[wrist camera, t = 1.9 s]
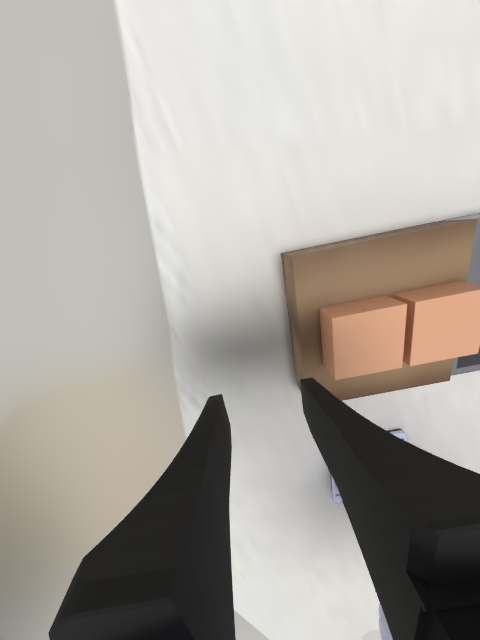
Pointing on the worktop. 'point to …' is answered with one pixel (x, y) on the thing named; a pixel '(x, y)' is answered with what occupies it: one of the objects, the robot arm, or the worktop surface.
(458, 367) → the box
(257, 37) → the worktop surface
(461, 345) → the tile
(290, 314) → the board
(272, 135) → the worktop surface
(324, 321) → the tile
